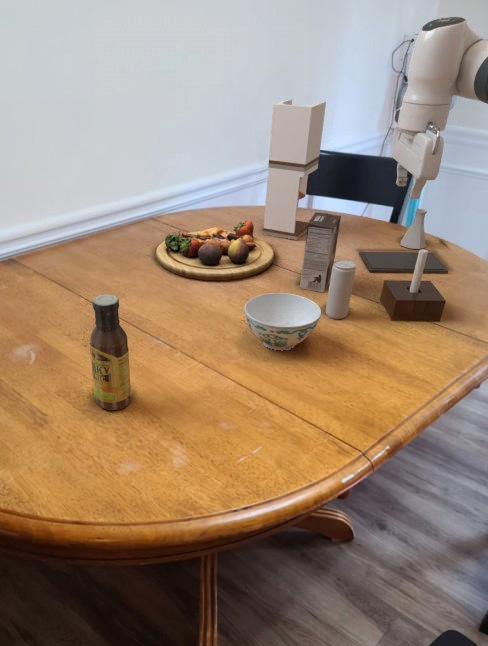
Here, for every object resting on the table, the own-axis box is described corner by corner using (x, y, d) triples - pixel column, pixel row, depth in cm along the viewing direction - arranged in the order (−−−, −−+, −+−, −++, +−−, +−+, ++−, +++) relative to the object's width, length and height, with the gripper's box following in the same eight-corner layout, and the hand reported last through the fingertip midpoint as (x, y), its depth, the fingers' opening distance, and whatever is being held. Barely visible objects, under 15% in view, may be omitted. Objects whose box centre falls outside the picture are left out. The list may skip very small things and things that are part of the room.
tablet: (431, 255, 156) (432, 251, 155) (447, 273, 145) (448, 270, 145) (358, 254, 156) (359, 251, 156) (369, 272, 146) (370, 269, 145)
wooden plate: (229, 231, 172) (231, 203, 167) (298, 266, 149) (301, 235, 145) (135, 251, 158) (134, 221, 153) (195, 292, 136) (195, 259, 131)
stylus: (411, 308, 129) (426, 249, 121) (414, 312, 127) (429, 252, 119) (403, 308, 129) (418, 249, 121) (405, 312, 127) (420, 252, 119)
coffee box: (306, 275, 144) (315, 211, 135) (332, 278, 142) (342, 214, 133) (298, 288, 138) (306, 222, 128) (324, 293, 136) (335, 226, 126)
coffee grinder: (296, 240, 165) (311, 107, 145) (263, 234, 169) (273, 104, 149) (310, 229, 173) (326, 101, 153) (277, 224, 177) (289, 98, 157)
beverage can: (340, 322, 123) (349, 270, 116) (320, 315, 126) (328, 264, 119) (351, 314, 126) (360, 263, 119) (332, 308, 129) (340, 257, 122)
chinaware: (330, 342, 116) (336, 308, 111) (286, 370, 107) (290, 334, 103) (272, 319, 125) (275, 286, 120) (227, 343, 116) (229, 308, 111)
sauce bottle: (89, 400, 99) (76, 296, 88) (118, 387, 102) (110, 285, 91) (108, 417, 95) (97, 310, 84) (139, 403, 98) (132, 299, 87)
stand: (425, 300, 132) (430, 280, 129) (440, 321, 124) (446, 300, 121) (379, 299, 133) (384, 279, 130) (391, 320, 124) (396, 299, 121)
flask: (396, 246, 161) (404, 211, 155) (404, 239, 166) (412, 204, 160) (421, 251, 158) (430, 215, 152) (429, 244, 163) (438, 209, 157)
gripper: (458, 128, 101) (438, 206, 109) (423, 110, 118) (408, 179, 126) (423, 128, 101) (406, 206, 109) (392, 110, 118) (379, 179, 126)
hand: (407, 191), depth 117 cm, fingers open, 8 cm apart
